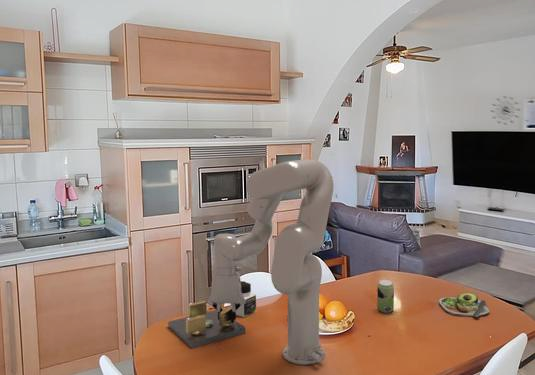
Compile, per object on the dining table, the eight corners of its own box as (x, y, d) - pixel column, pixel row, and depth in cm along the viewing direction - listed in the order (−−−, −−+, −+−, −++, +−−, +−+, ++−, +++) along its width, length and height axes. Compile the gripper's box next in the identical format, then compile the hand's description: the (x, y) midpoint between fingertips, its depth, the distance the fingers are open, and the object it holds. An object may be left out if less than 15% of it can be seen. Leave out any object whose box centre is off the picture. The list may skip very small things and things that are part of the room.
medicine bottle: (244, 318, 170) (243, 286, 169) (230, 313, 175) (229, 283, 173) (256, 312, 176) (256, 281, 175) (242, 308, 180) (241, 278, 179)
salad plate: (499, 321, 164) (500, 309, 164) (447, 319, 167) (448, 307, 166) (482, 302, 184) (482, 291, 183) (435, 300, 186) (436, 289, 185)
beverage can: (392, 307, 178) (392, 277, 177) (395, 315, 171) (396, 283, 170) (375, 307, 179) (376, 277, 177) (378, 314, 172) (378, 283, 170)
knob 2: (235, 322, 161) (235, 306, 160) (225, 329, 155) (225, 312, 155) (227, 320, 162) (227, 304, 162) (217, 327, 157) (217, 311, 156)
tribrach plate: (245, 333, 157) (245, 322, 157) (191, 348, 147) (191, 337, 146) (218, 314, 174) (218, 305, 174) (168, 327, 163) (167, 317, 163)
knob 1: (207, 332, 153) (206, 315, 152) (189, 337, 150) (188, 320, 149) (202, 329, 156) (202, 312, 155) (185, 333, 152) (184, 316, 152)
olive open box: (207, 316, 166) (207, 301, 166) (191, 320, 163) (190, 305, 162) (203, 313, 169) (203, 298, 168) (187, 317, 166) (186, 302, 165)
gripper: (250, 267, 160) (251, 317, 162) (203, 266, 161) (205, 317, 163) (248, 273, 153) (249, 326, 155) (199, 273, 154) (201, 326, 156)
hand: (227, 321), depth 159 cm, fingers closed on knob 2, 3 cm apart
